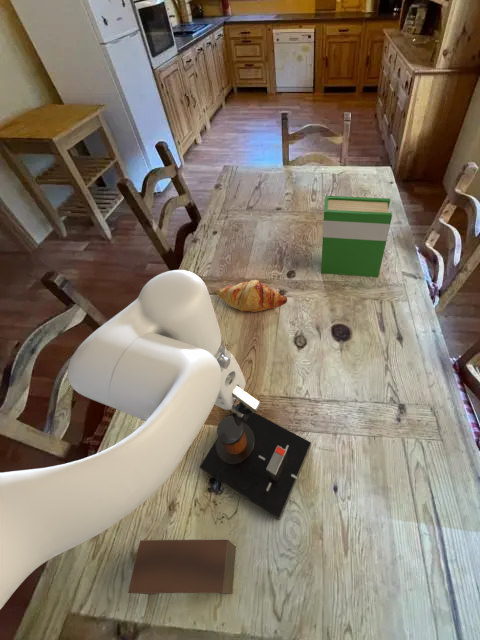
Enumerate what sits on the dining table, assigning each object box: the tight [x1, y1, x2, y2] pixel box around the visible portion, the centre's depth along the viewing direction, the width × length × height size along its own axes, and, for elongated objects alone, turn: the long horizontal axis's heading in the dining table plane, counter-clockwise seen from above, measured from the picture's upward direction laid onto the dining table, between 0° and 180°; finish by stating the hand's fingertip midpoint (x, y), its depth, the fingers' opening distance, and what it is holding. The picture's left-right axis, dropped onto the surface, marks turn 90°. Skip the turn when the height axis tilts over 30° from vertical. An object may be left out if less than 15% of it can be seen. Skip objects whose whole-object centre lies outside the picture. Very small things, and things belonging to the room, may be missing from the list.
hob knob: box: [266, 446, 288, 481], centre depth 65 cm, size 4×2×5 cm, turn 153°
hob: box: [199, 403, 312, 521], centre depth 70 cm, size 14×18×3 cm
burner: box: [215, 423, 255, 464], centre depth 70 cm, size 8×8×1 cm
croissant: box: [216, 279, 288, 313], centre depth 98 cm, size 21×10×8 cm, turn 80°
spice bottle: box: [216, 415, 247, 455], centre depth 68 cm, size 5×5×7 cm
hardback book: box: [320, 195, 393, 278], centre depth 100 cm, size 18×7×24 cm, turn 83°
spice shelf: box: [127, 538, 237, 595], centre depth 55 cm, size 6×14×10 cm, turn 90°
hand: (218, 403), depth 57 cm, fingers open, 9 cm apart
